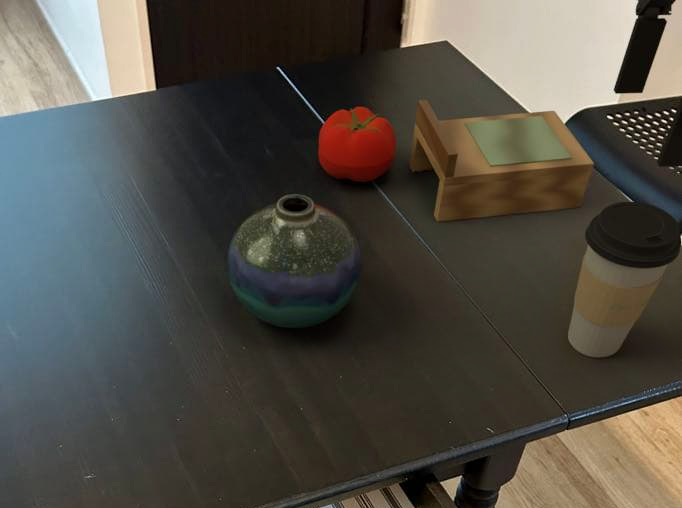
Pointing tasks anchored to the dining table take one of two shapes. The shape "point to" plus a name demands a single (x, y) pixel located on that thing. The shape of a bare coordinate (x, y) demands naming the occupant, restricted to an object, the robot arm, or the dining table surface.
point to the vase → (294, 263)
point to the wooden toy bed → (500, 163)
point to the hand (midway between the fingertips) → (648, 126)
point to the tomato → (356, 145)
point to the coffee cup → (620, 273)
